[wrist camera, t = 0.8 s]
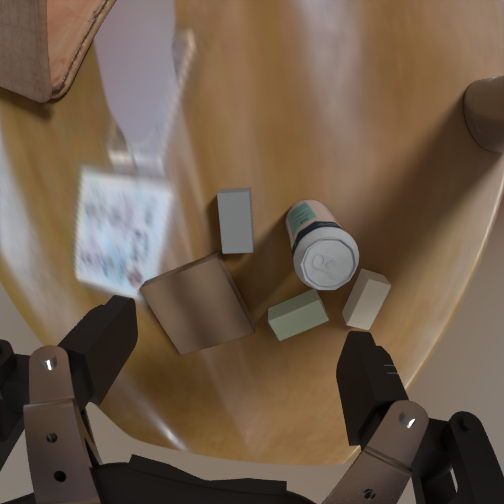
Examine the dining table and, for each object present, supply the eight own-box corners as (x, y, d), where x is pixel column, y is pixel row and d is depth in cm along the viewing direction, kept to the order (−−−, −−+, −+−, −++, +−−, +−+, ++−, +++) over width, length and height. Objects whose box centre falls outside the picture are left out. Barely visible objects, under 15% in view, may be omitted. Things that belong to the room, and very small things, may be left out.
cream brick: (361, 267, 33) (368, 278, 30) (382, 274, 33) (391, 285, 31) (341, 311, 35) (346, 325, 32) (362, 316, 35) (368, 330, 33)
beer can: (320, 248, 32) (345, 304, 21) (278, 234, 32) (284, 285, 21) (336, 207, 31) (373, 244, 20) (294, 192, 31) (310, 220, 19)
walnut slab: (219, 251, 33) (216, 257, 31) (255, 323, 36) (254, 333, 34) (145, 281, 35) (139, 288, 33) (184, 345, 38) (181, 354, 36)
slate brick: (221, 189, 31) (217, 193, 28) (250, 187, 31) (248, 191, 28) (226, 244, 33) (222, 253, 30) (254, 242, 33) (253, 252, 30)
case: (-13, 78, 26) (-89, 78, 11) (48, -39, 19) (-13, -71, 4) (64, 109, 28) (-35, 109, 13) (146, -34, 22) (89, -100, 7)
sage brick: (315, 286, 34) (319, 299, 31) (324, 306, 35) (328, 320, 32) (268, 307, 35) (268, 321, 33) (279, 326, 36) (279, 341, 34)
